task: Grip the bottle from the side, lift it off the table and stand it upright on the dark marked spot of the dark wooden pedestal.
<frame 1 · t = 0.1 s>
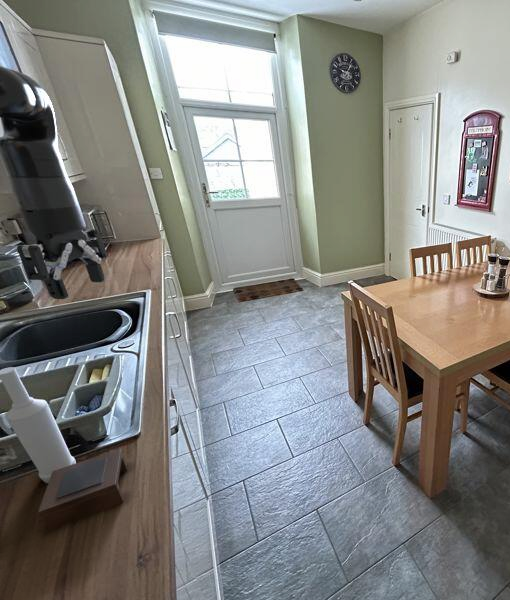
hand: (80, 289, 64), 35 cm above the counter, tool pointing down, fingers open, 8 cm apart
dark wooden pedestal: (92, 495, 62), on the counter
bottle: (60, 473, 66), on the counter
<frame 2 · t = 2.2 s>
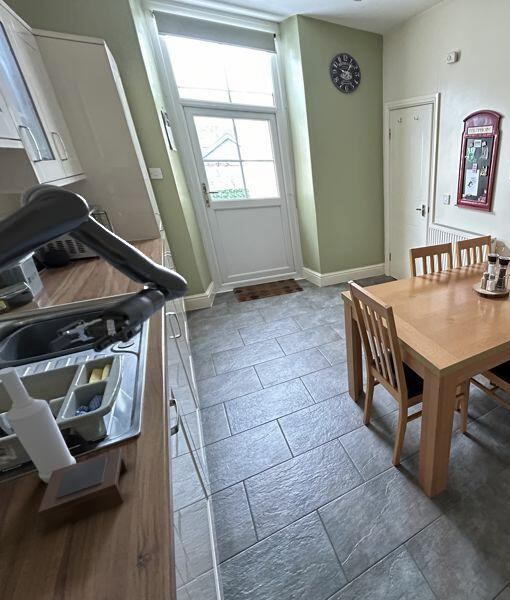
hand: (73, 348, 68), 22 cm above the counter, tool horizontal, fingers open, 8 cm apart
nothing on the counter moved.
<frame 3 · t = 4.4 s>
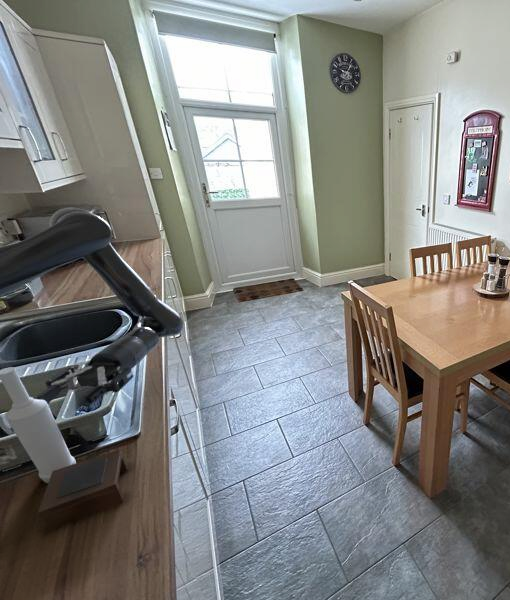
hand: (62, 402, 66), 13 cm above the counter, tool horizontal, fingers open, 8 cm apart
nothing on the counter moved.
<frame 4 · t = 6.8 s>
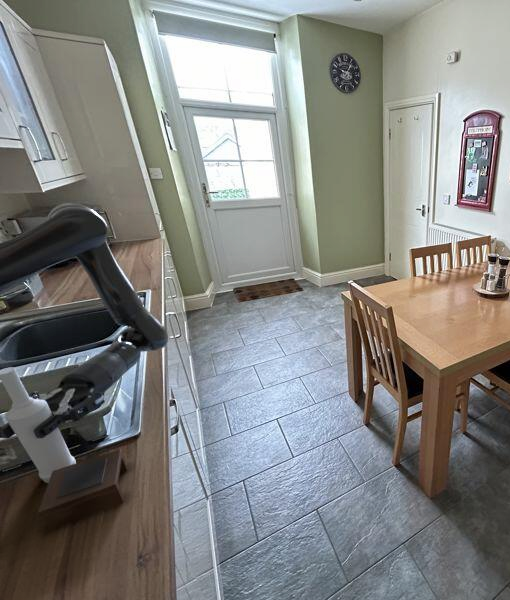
hand: (20, 434, 58), 13 cm above the counter, tool horizontal, fingers closed on bottle, 5 cm apart
bottle: (60, 473, 66), on the counter, touching gripper
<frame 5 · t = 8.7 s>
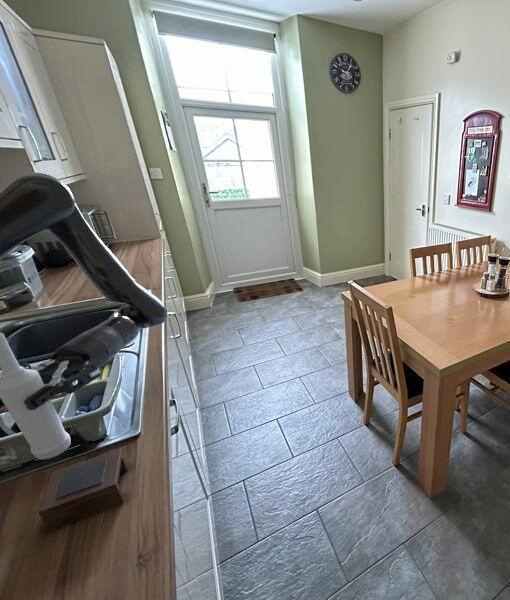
hand: (10, 405, 55), 21 cm above the counter, tool horizontal, fingers closed on bottle, 5 cm apart
bottle: (54, 449, 62), point 7 cm above the counter, touching gripper
when the fingers open (18 cm above the counter, at t = 11.1 s): bottle stays where it is, resting on dark wooden pedestal.
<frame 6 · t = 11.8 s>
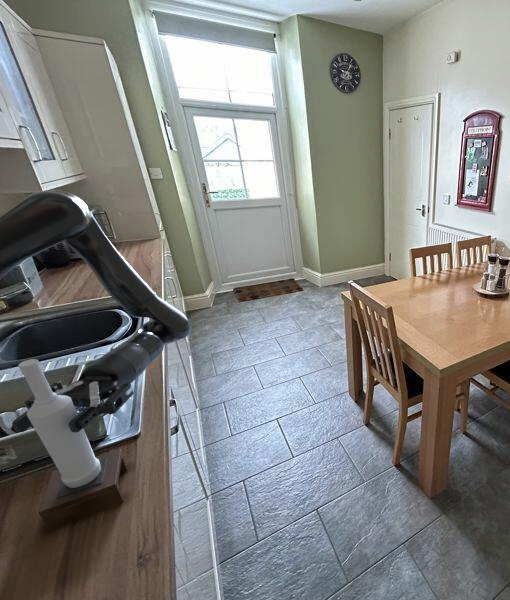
hand: (44, 428, 53), 19 cm above the counter, tool horizontal, fingers open, 8 cm apart
bottle: (84, 476, 60), point 5 cm above the counter, touching dark wooden pedestal
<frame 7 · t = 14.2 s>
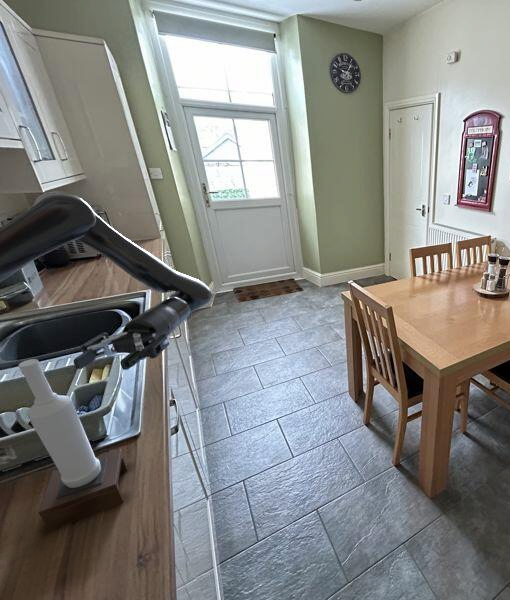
hand: (100, 365, 63), 22 cm above the counter, tool horizontal, fingers open, 8 cm apart
nothing on the counter moved.
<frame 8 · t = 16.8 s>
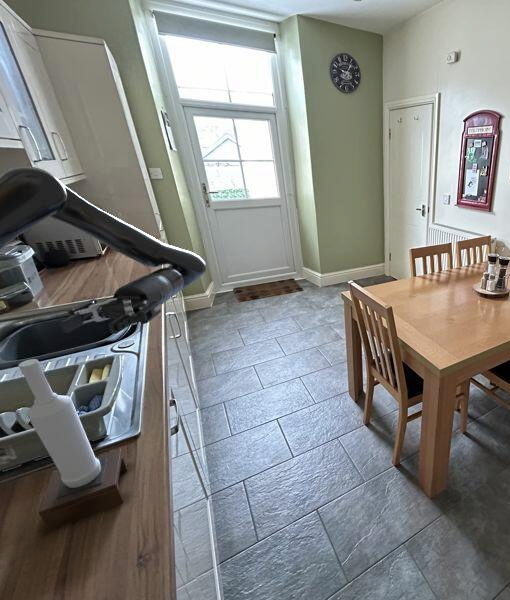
hand: (87, 328, 60), 30 cm above the counter, tool horizontal, fingers open, 8 cm apart
nothing on the counter moved.
at the end: bottle 0.2 cm off-centre on the dark wooden pedestal, point 5.0 cm above the dark wooden pedestal's base; bottle tilted 0°; the gripper is holding nothing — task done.
